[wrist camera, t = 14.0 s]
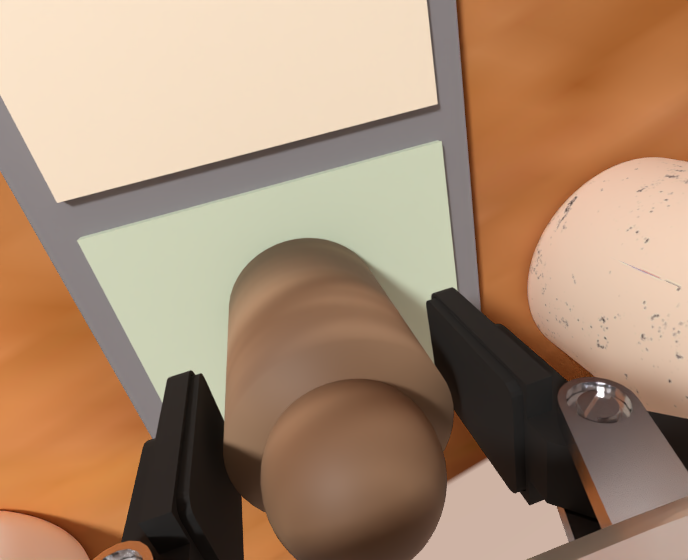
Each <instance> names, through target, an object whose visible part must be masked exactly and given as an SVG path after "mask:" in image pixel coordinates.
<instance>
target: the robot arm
mask: <svg viewBox="0 0 688 560" xmlns="http://www.w3.org/2000/svg"><path fill="white" fill-rule="evenodd" d="M426 309H427V316H428V323H429V329H430V336H431V343H432V350H433V357H434V364H435V366H436V368H437V369H438V370H439V372H440V373H441V375H442V377H443V378H444V380H445V381H446V383H447V385H448V388H449V390H450V392H451V396H452V401H453V408H454V410H455V412H456V413H457V415H458V416H459V418H460V419H461V420H462V422H463V423H464V425H465V426H466V428H467V429H468V430H469V432H470V433H471V435H472V436H473V438H474V439H475V441H476V442H477V443H478V445H479V446H480V448H481V449H482V451H483V452H484V453H485V455H486V456H487V458H488V459H489V461H490V462H491V463H492V465H493V466H494V468H495V469H496V471H497V472H498V473H499V475H500V476H501V477H502V479H503V481H504V482H505V483H506V485H507V486H508V488H509V489H510V490H511V491H512V492H513V493H517V492H520V493H521V494H522V495H523V497H524V498H525V500H526V501H527V502H528V504H529V505H532V504H534V503H537V502H539V501H542V500H545V501H546V502H547V503H549V504H552V505H555V506H557V509H558V512H559V514H560V518H561V520H562V523H563V526H564V529H565V532H566V535H567V538H568V541H569V543H566V544H564V545H561V546H559V547H556V548H554V549H552V550H549V551H547V552H544V553H542V554H540V555H537V556H534V557H532V558H529V559H527V560H688V419H687V418H681V417H676V416H671V415H666V414H661V413H656V412H651V411H647V410H646V409H645V407H644V406H643V404H642V403H641V401H640V400H639V398H638V397H637V396H636V395H635V394H634V393H633V392H632V391H631V390H629V389H628V388H626V387H625V386H623V385H622V384H619V383H617V382H614V381H612V380H609V379H604V378H598V377H582V378H577V379H573V380H571V381H569V382H568V381H567V380H566V379H564V378H563V377H562V376H561V375H560V374H559V373H558V372H556V371H555V370H554V369H553V368H552V367H551V366H550V365H548V364H547V363H546V362H545V361H544V360H543V359H541V358H540V357H539V356H538V355H537V354H536V353H535V352H533V351H532V350H531V349H530V348H529V347H528V346H527V345H525V344H524V343H523V342H522V341H521V340H520V339H519V338H517V337H516V336H515V335H514V334H513V333H512V332H511V331H509V330H508V329H507V328H506V327H505V326H503V325H502V324H494V323H493V322H492V321H491V320H489V319H488V318H487V317H486V316H485V315H484V314H483V313H482V312H481V311H479V310H478V309H477V308H476V307H475V306H474V305H473V304H472V303H471V302H469V301H468V300H467V299H466V298H465V297H464V296H463V295H462V294H460V293H459V292H458V291H457V290H456V289H455V288H453V287H451V288H448V289H444V290H441V291H438V292H435V293H432V295H431V300H428V301H426ZM223 440H224V419H223V417H222V415H221V413H220V410H219V408H218V406H217V404H216V402H215V399H214V397H213V395H212V393H211V391H210V388H209V386H208V384H207V382H206V380H205V378H204V376H203V374H202V373H200V374H197V375H195V373H194V372H193V371H192V370H190V371H187V372H184V373H181V374H177V375H174V376H171V377H169V378H168V379H167V382H166V387H165V392H164V397H163V402H162V407H161V412H160V417H159V422H158V427H157V432H156V437H155V438H154V439H151V440H148V441H147V442H146V443H145V444H144V447H143V450H142V454H141V458H140V463H139V467H138V471H137V476H136V480H135V485H134V489H133V493H132V498H131V502H130V506H129V511H128V515H127V520H126V524H125V528H124V533H123V537H122V541H121V543H118V544H116V545H114V546H112V547H110V548H108V549H106V550H104V551H103V552H102V553H100V554H99V555H98V556H97V557H95V558H94V559H93V560H244V552H243V525H242V498H241V494H240V493H239V492H238V491H237V490H236V489H235V487H234V485H233V484H232V482H231V480H230V479H229V476H228V473H227V471H226V468H225V463H224V457H223Z"/></svg>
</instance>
